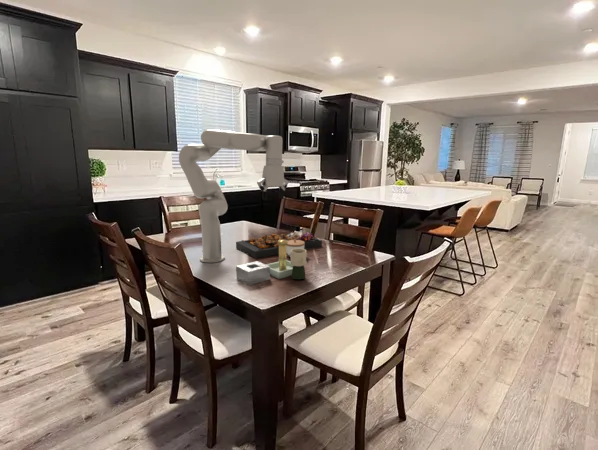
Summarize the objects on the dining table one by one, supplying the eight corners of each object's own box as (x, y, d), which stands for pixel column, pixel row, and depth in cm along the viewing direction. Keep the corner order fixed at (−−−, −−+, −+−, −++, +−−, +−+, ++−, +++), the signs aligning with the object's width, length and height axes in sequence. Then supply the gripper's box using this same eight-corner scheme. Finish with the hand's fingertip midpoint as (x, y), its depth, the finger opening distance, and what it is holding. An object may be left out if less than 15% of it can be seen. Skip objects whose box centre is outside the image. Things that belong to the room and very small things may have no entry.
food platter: (298, 239, 229) (298, 223, 226) (321, 247, 209) (322, 230, 207) (236, 249, 203) (235, 232, 201) (255, 259, 184) (255, 240, 182)
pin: (275, 269, 163) (275, 240, 160) (283, 267, 165) (283, 239, 163) (281, 272, 159) (281, 242, 156) (289, 270, 162) (289, 240, 159)
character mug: (311, 281, 151) (311, 252, 148) (296, 283, 148) (296, 254, 145) (300, 273, 160) (300, 246, 158) (286, 275, 157) (286, 248, 155)
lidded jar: (300, 259, 182) (300, 242, 180) (281, 257, 185) (281, 240, 183) (307, 254, 191) (307, 238, 190) (289, 252, 195) (289, 236, 193)
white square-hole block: (236, 278, 153) (236, 265, 152) (257, 273, 160) (257, 261, 159) (248, 285, 146) (248, 271, 144) (270, 279, 153) (270, 266, 152)
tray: (262, 271, 163) (262, 265, 163) (285, 265, 172) (285, 259, 171) (279, 278, 153) (278, 272, 153) (302, 272, 162) (302, 266, 162)
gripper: (284, 162, 169) (283, 197, 173) (253, 162, 158) (253, 198, 162) (293, 163, 163) (292, 199, 167) (262, 163, 153) (261, 201, 156)
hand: (272, 198), depth 165 cm, fingers open, 9 cm apart
